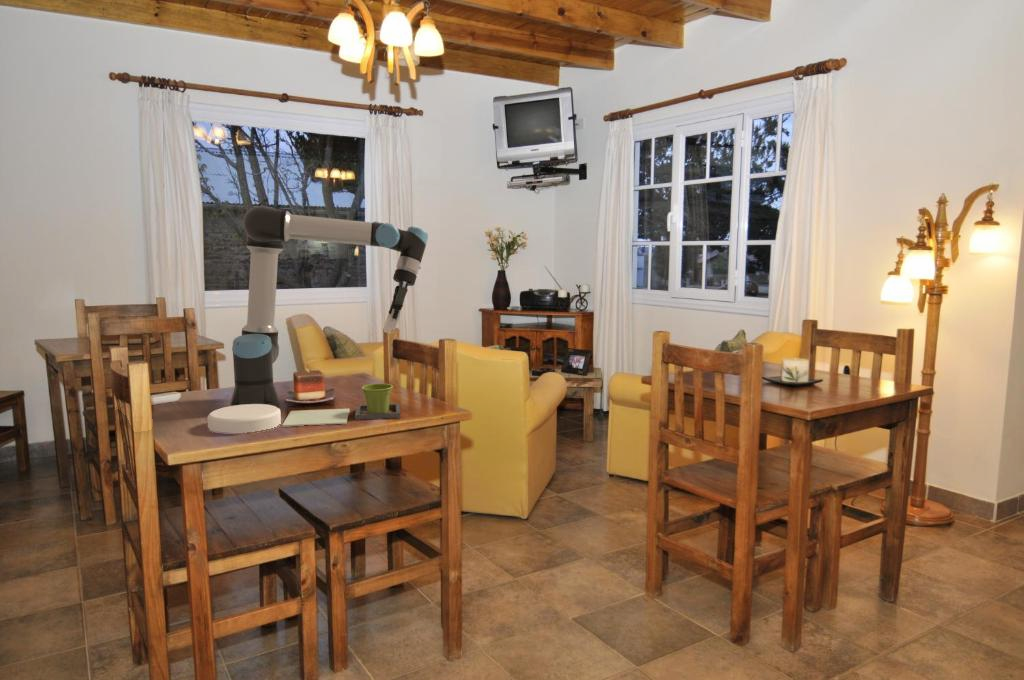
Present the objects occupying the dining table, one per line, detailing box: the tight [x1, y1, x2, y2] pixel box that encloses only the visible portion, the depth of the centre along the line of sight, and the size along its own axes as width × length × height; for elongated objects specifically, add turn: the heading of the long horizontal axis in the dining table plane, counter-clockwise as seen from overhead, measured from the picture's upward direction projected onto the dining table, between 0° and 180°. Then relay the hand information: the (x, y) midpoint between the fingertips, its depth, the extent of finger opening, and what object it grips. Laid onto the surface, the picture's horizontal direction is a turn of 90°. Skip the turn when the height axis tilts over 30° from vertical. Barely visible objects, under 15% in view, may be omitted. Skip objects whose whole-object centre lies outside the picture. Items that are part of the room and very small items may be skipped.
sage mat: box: [281, 408, 350, 428], centre depth 217 cm, size 18×18×1 cm
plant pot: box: [361, 383, 394, 414], centre depth 221 cm, size 9×9×9 cm
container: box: [206, 404, 282, 433], centre depth 208 cm, size 20×20×5 cm
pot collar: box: [354, 403, 401, 421], centre depth 222 cm, size 13×13×2 cm
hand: (388, 330), depth 241 cm, fingers open, 13 cm apart
